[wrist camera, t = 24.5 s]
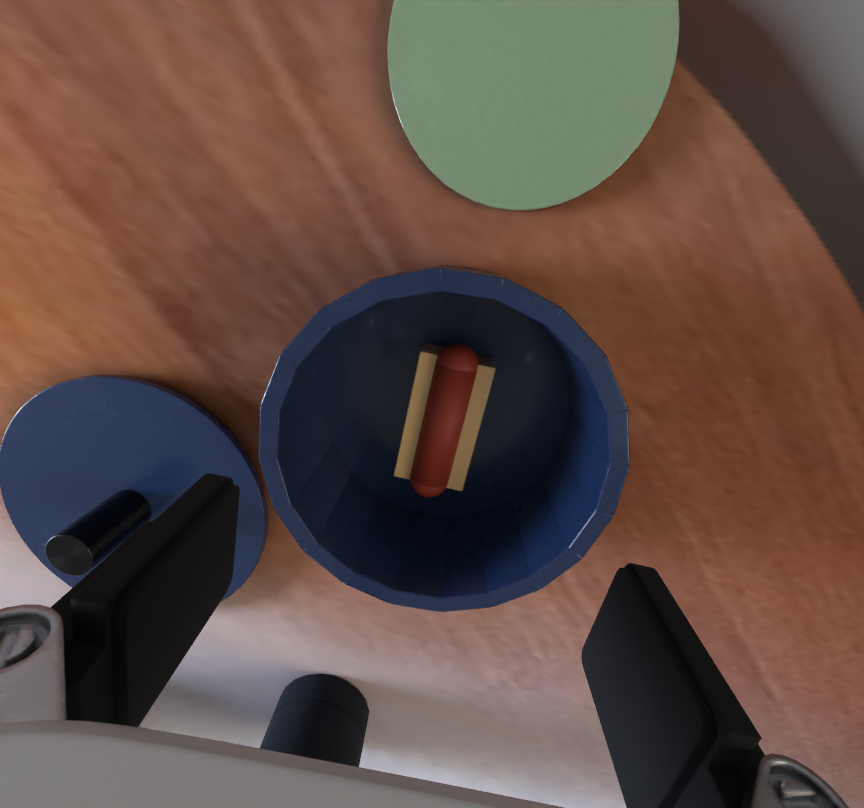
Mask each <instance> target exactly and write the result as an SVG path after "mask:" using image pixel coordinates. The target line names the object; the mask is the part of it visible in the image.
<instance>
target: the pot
mask: <svg viewBox="0 0 864 808" xmlns="http://www.w3.org/2000/svg"><path fill="white" fill-rule="evenodd" d="M424 342H426V343H430V344H435V345H439V346H444V347H446V346H448V345H450V344H454V343H460V344H464V345H466V346H468V347H470V348H471V349H472V350H473V351H474V353H475V354H478V355H483V356H487V357H491V358H492V359H493V362H494V365H495V368H496V370H495V374H494V378H493V381H492V385H491V389H490V392H489V396H488V400H487V403H486V407H485V411H484V414H483V418H482V421H481V425H480V429H479V432H478V436H477V440H476V443H475V447H474V451H473V454H472V458H471V462H470V465H469V469H468V473H467V476H466V480H465V484H464V487H463V490H462V491H458V490H454V489H449V488H445V490H444V491H443V492H442V493H441V494H439V495H437V496H435V497H424V496H421V495H419V494H418V493H416V492H415V491H414V489H413V488H412V486H411V483H410V480H409V479H404V478H400V477H396V476H394V470H395V465H396V461H397V456H398V451H399V447H400V442H401V437H402V433H403V428H404V423H405V419H406V414H407V409H408V405H409V400H410V395H411V391H412V386H413V382H414V377H415V372H416V368H417V363H418V358H419V354H420V350H421V348H422V345H423V343H424ZM627 409H628V407H627V404H626V402H625V400H624V397H623V395H622V392H621V390H620V387H619V385H618V383H617V380H616V378H615V375H614V373H613V371H612V368H611V366H610V363H609V361H608V359H607V356H606V355H605V354H604V352H603V351H602V350H601V349H600V348H599V346H598V345H597V344H596V343H595V342H594V341H593V340H592V339H591V338H590V337H589V336H588V335H587V333H586V332H585V331H584V330H583V329H582V328H581V327H580V326H579V325H578V324H577V323H576V321H575V320H574V319H573V318H572V317H571V316H570V315H569V314H568V313H567V312H566V311H565V310H564V309H563V308H562V307H560V306H558V305H556V304H554V303H553V302H551V301H549V300H547V299H545V298H543V297H541V296H539V295H537V294H535V293H534V292H532V291H530V290H528V289H526V288H524V287H522V286H520V285H518V284H517V283H515V282H513V281H511V280H509V279H507V278H505V277H502V276H500V275H497V274H495V273H491V272H487V271H480V270H474V269H467V268H461V267H455V266H448V265H446V266H444V265H441V266H435V267H430V268H424V269H418V270H413V271H407V272H401V273H396V274H392V275H388V276H384V277H380V278H376V279H373V280H371V281H369V282H368V283H366V284H364V285H362V286H360V287H359V288H357V289H355V290H353V291H351V292H350V293H348V294H346V295H344V296H342V297H341V298H339V299H337V300H335V301H333V302H332V303H330V304H328V305H326V306H324V307H323V308H321V310H318V311H317V313H316V314H315V315H314V316H313V317H312V318H311V319H310V321H309V322H308V323H307V324H306V325H305V326H304V327H303V329H302V330H301V331H300V332H299V333H298V334H297V335H296V336H295V338H294V339H293V340H292V341H291V342H290V343H289V344H288V346H287V347H286V348H285V349H284V350H283V351H282V352H281V354H280V356H279V359H278V361H277V364H276V366H275V369H274V371H273V374H272V376H271V379H270V382H269V384H268V387H267V389H266V392H265V394H264V397H263V399H262V402H261V407H260V430H259V462H260V466H261V469H262V472H263V475H264V479H265V482H266V485H267V488H268V491H269V495H270V498H271V501H272V504H273V508H275V509H274V510H275V511H276V513H277V514H278V516H279V517H280V518H281V520H282V521H283V523H284V524H285V526H286V527H287V529H288V530H289V531H290V533H291V534H292V536H293V537H294V539H295V540H296V542H297V543H298V544H299V546H300V547H301V549H302V550H303V551H304V552H305V553H306V554H308V555H309V556H310V557H311V558H313V559H314V560H315V561H316V562H318V563H319V564H320V565H321V566H322V567H324V568H325V569H326V570H327V571H329V572H330V573H331V574H332V575H334V576H335V577H336V578H337V579H339V580H340V581H341V582H344V583H345V584H346V585H349V586H351V587H353V588H356V589H358V590H360V591H362V592H365V593H367V594H369V595H371V596H374V597H376V598H378V599H380V600H383V601H385V602H387V603H391V604H394V605H400V606H407V607H413V608H419V609H425V610H431V611H438V612H440V611H441V612H447V611H458V610H468V609H479V608H490V607H494V606H497V605H500V604H502V603H505V602H508V601H510V600H513V599H516V598H519V597H521V596H524V595H527V594H529V593H532V592H535V591H537V590H540V588H541V589H542V588H543V587H545V586H546V585H547V584H549V583H550V582H551V581H553V580H554V579H556V578H557V577H558V576H560V575H561V574H562V573H564V572H565V571H566V570H568V569H569V568H570V567H572V566H573V565H575V564H576V563H577V562H579V561H580V560H581V559H582V557H584V556H585V554H586V553H587V552H588V550H589V549H590V547H591V546H592V545H593V543H594V542H595V541H596V539H597V538H598V537H599V535H600V534H601V533H602V531H603V530H604V529H605V527H606V526H607V524H608V523H609V522H610V520H611V519H612V518H613V515H614V514H615V511H616V507H617V504H618V501H619V498H620V495H621V492H622V489H623V485H624V482H625V479H626V476H627V473H628V470H629V464H630V448H629V421H628V410H627Z"/></svg>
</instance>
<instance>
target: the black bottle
mask: <svg viewBox="0 0 864 808" xmlns="http://www.w3.org/2000/svg"><path fill="white" fill-rule="evenodd" d="M368 715H369V709H368V706H367V702H366V699H365V698H364V697H363V695H362V694H361V693H360V691H359V690H358V689H357V688H355V687H354V686H353V685H351V684H350V683H349V682H347V681H345V680H342V679H340V678H338V677H335V676H330V675H323V674H315V675H306V676H303V677H301V678H298V679H295V680H294V681H293V682H291V683H290V684H289V685H288V686H287V687H285V689H284V691H283V693H282V695H281V697H280V699H279V702H278V704H277V707H276V709H275V711H274V714H273V716H272V719H271V721H270V724H269V726H268V729H267V731H266V734H265V736H264V739H263V741H262V744H261V746H260V749H265V750H270V751H275V752H281V753H286V754H291V755H297V756H302V757H307V758H312V759H318V760H323V761H328V762H334V763H339V764H344V765H350V766H355V767H359V763H360V758H361V753H362V747H363V742H364V737H365V732H366V727H367V722H368Z"/></svg>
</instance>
